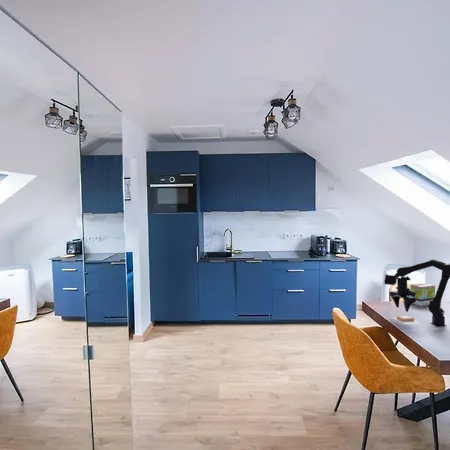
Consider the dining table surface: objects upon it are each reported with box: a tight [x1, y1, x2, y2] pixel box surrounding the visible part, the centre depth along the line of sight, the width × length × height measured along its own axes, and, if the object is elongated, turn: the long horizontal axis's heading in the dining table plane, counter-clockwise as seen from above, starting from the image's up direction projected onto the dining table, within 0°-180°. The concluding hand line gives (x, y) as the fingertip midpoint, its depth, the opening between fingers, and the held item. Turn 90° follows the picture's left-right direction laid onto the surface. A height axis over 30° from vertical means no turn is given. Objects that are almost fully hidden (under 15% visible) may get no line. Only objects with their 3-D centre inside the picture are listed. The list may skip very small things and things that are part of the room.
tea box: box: [409, 282, 436, 307], centre depth 244 cm, size 15×10×15 cm
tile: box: [396, 315, 415, 321], centre depth 207 cm, size 2×8×6 cm
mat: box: [392, 316, 424, 326], centre depth 206 cm, size 14×12×1 cm
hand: (402, 309), depth 209 cm, fingers open, 9 cm apart
